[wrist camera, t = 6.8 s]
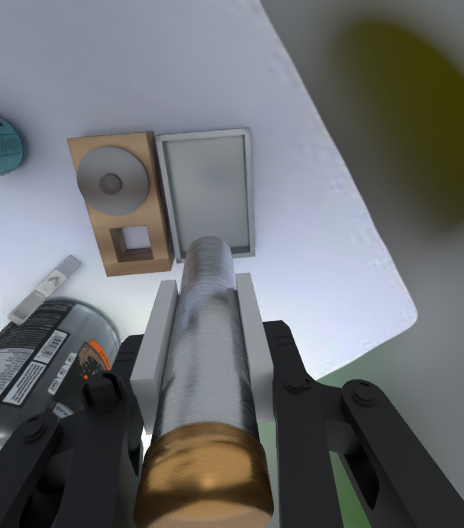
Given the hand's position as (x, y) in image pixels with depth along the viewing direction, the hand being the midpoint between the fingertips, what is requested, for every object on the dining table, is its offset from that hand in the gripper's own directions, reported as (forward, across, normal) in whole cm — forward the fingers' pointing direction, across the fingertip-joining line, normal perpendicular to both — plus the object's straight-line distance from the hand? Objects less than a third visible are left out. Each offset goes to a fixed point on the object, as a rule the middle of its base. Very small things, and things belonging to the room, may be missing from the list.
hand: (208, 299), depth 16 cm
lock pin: (+6, 0, 0) cm, 6 cm away
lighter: (+24, -22, -9) cm, 34 cm away
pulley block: (+24, -10, 0) cm, 26 cm away
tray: (+24, 0, 0) cm, 24 cm away
